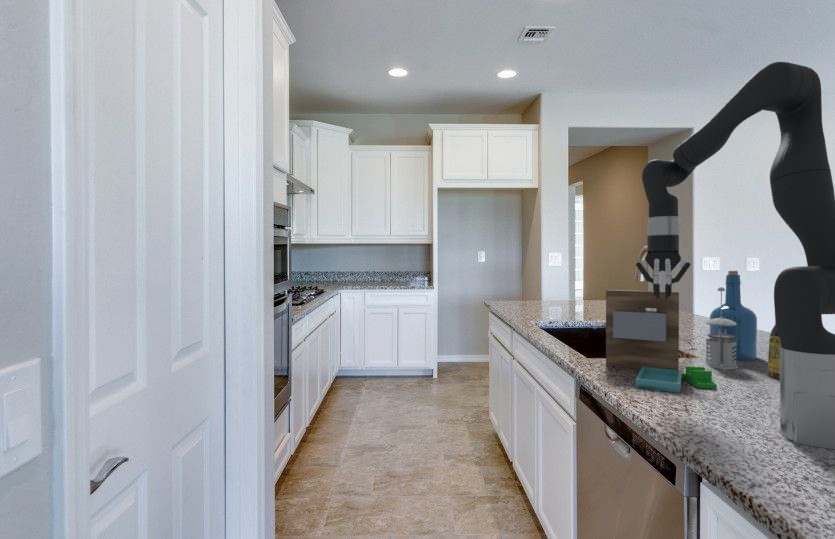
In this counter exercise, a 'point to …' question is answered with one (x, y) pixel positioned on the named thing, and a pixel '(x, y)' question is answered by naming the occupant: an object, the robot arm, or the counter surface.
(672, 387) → the tray
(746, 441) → the counter surface
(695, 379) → the pipe clamp
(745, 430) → the counter surface
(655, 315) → the control unit
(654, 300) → the board
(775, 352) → the sauce bottle
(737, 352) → the wine bottle
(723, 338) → the french press
